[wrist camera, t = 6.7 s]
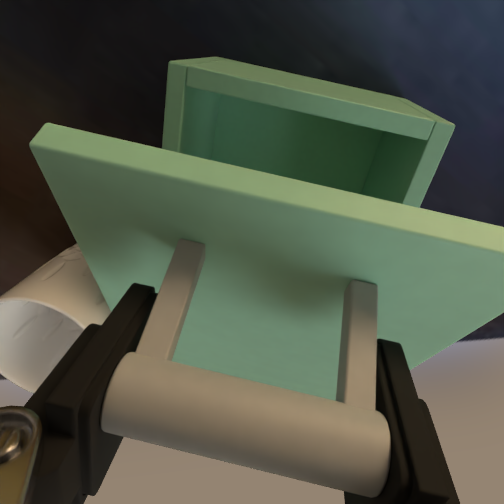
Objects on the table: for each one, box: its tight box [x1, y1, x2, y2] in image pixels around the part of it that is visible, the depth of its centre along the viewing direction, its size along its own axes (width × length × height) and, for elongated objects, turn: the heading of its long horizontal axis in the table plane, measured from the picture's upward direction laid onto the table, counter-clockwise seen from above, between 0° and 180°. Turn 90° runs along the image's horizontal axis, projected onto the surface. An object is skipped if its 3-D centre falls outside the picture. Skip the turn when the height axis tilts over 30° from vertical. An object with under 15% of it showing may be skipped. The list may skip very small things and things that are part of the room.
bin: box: [162, 57, 455, 208], centre depth 23 cm, size 17×12×9 cm
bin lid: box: [29, 123, 504, 498], centre depth 14 cm, size 17×12×5 cm, turn 169°
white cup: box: [0, 243, 111, 394], centre depth 27 cm, size 8×8×10 cm
